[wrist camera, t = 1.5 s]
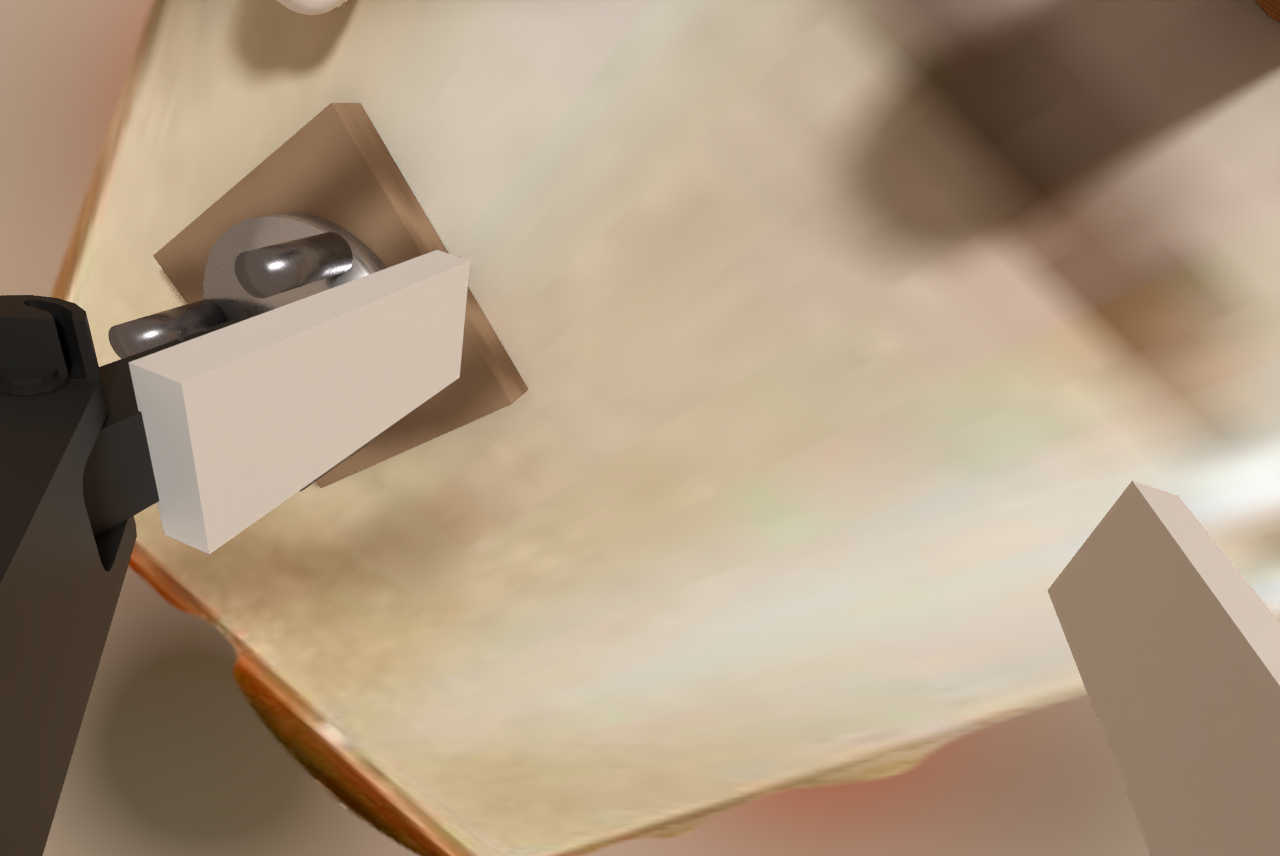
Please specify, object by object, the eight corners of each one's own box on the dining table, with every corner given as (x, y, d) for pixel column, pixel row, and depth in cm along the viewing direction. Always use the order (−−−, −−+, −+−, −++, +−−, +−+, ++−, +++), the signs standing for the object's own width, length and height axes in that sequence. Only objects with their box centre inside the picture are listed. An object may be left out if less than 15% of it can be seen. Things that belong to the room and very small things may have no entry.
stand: (184, 249, 47) (142, 257, 45) (360, 103, 39) (321, 102, 36) (342, 472, 53) (314, 493, 50) (528, 389, 44) (505, 408, 41)
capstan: (191, 274, 45) (70, 304, 38) (326, 166, 38) (210, 179, 31) (324, 461, 49) (238, 519, 42) (467, 394, 42) (392, 449, 35)
